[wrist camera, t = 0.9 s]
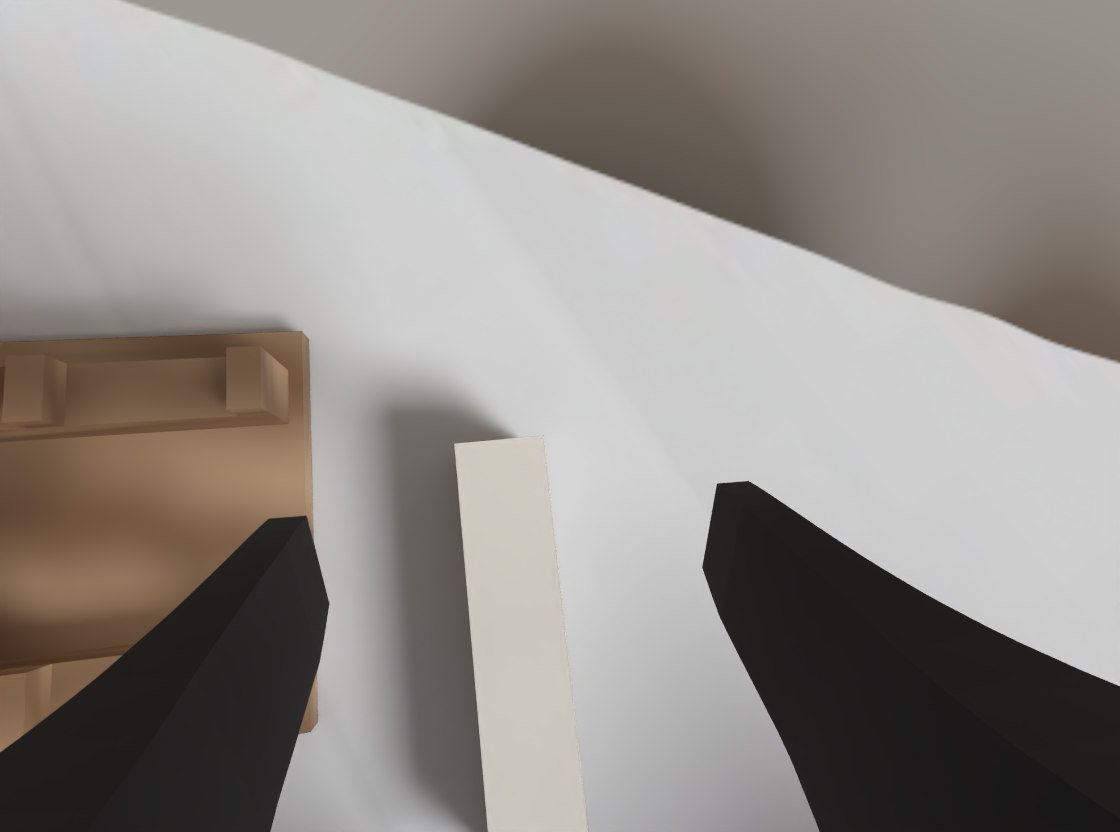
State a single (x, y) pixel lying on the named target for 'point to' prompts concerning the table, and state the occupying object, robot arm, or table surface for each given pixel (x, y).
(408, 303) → the table surface
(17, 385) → the slotted wooden stand
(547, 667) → the pale grey bar
